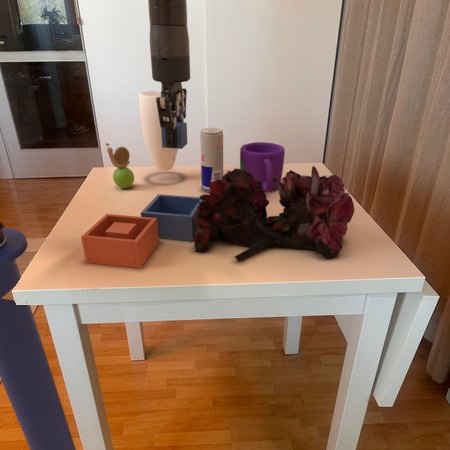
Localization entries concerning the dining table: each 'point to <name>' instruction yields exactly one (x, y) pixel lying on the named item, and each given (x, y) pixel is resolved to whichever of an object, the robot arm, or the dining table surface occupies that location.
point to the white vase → (154, 132)
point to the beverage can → (211, 156)
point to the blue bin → (174, 216)
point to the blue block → (180, 133)
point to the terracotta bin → (120, 242)
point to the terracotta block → (122, 231)
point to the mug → (263, 162)
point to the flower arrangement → (275, 225)
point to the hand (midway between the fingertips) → (174, 144)
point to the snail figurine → (121, 167)
